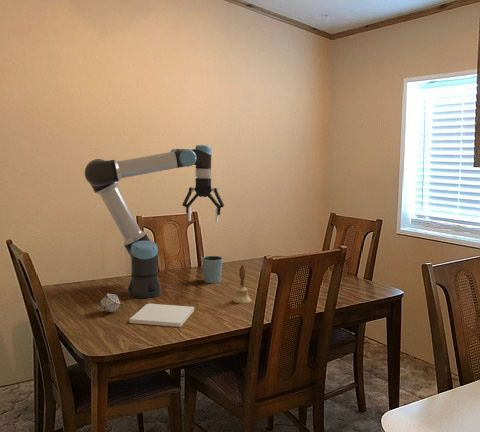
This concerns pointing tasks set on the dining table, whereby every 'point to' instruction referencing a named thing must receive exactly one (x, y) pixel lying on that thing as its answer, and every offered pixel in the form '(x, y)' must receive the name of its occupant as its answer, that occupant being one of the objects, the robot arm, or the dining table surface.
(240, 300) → the hand bell
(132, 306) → the dining table surface
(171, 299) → the dining table surface
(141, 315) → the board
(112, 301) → the game die
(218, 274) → the blue cup
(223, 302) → the dining table surface
